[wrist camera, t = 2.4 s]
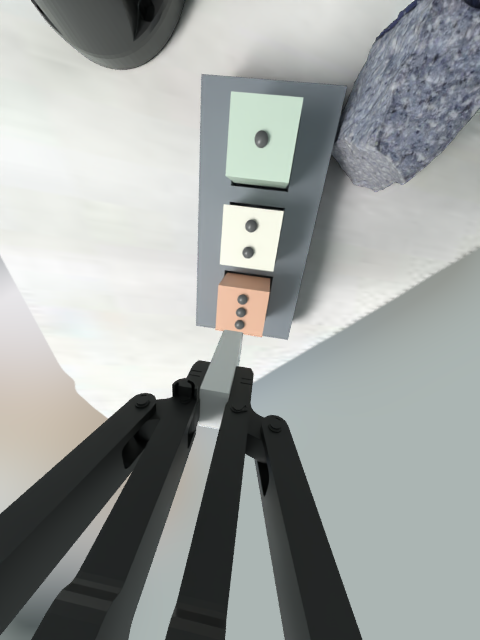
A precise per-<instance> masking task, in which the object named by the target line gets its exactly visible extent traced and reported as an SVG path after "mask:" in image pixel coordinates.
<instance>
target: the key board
mask: <svg viewBox="0 0 480 640" xmlns="http://www.w3.org/2000/svg"><path fill="white" fill-rule="evenodd" d="M346 89H347V86H343V85H331V84H318V83H306V82H293V81H281V80H268V79H256V78H243V77H231V76H218V75H206V74H202V77H201V123H200V170H199V216H198V263H197V309H196V326H203V327H209V328H216V313H217V298H218V285H219V283H220V282H221V281H222V279H223V278H224V276H225V275H226V274H227V272H229V273H236V274H243V275H250V276H258V277H265V278H270V294H269V300H268V305H267V311H266V317H265V323H264V328H263V334H262V336H267V337H273V338H280V339H286V340H288V337H289V332H290V328H291V324H292V319H293V315H294V311H295V307H296V302H297V298H298V294H299V290H300V285H301V281H302V277H303V273H304V268H305V264H306V260H307V255H308V251H309V247H310V243H311V238H312V234H313V230H314V226H315V221H316V217H317V213H318V208H319V204H320V200H321V196H322V191H323V187H324V183H325V179H326V174H327V170H328V166H329V161H330V157H331V153H332V149H333V144H334V140H335V136H336V132H337V127H338V123H339V119H340V114H341V110H342V106H343V102H344V97H345V93H346ZM231 91H233V92H245V93H257V94H268V95H280V96H292V97H304V98H303V104H302V109H301V115H300V121H299V127H298V132H297V138H296V144H295V150H294V155H293V161H292V167H291V173H290V179H289V183H288V185H287V187H286V188H277V187H268V186H259V185H250V184H241V183H234V182H233V181H232V180H230V179H229V178H228V177H226V176H225V175H226V160H227V145H228V129H229V114H230V99H231ZM224 204H226V205H234V206H243V207H251V208H260V209H268V210H277V211H284V213H283V219H282V225H281V230H280V236H279V242H278V248H277V253H276V259H275V265H274V271H273V272H272V271H265V270H258V269H250V268H243V267H235V266H228V265H221V264H220V252H221V237H222V221H223V206H224Z"/></svg>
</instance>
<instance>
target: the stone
mask: <svg viewBox="0 0 480 640" xmlns="http://www.w3.org/2000/svg"><path fill="white" fill-rule="evenodd" d="M479 108H480V0H415V1H414V2H412V3H411V4H410V5H408V6H407V7H406V8H405V9H404V10H403V11H401V12H400V13H399V15H398V18H397V19H396V20H395V21H393V23H391V24H390V25H389V26H388V27H387V28H386V29H384V31H383V32H381V33H380V35H379V36H378V37H377V38H376V42H374V44H373V46H372V48H371V50H370V52H369V55H368V58H367V61H366V63H365V65H364V66H363V68H362V70H361V71H360V73H359V75H358V78H357V80H356V81H355V82H354V87H353V90H352V92H351V94H350V97H349V100H348V102H347V104H346V106H345V109H344V111H343V113H342V114H341V116H340V119H339V123H338V127H337V132H336V136H335V140H334V144H333V149H332V153H331V155H332V156H333V157H334V158H335V159H336V160H337V162H338V163H339V164H340V166H341V168H342V169H343V170H344V171H345V173H346V175H347V176H348V177H349V178H350V179H351V181H352V183H353V184H354V185H358V186H365V187H367V188H370V189H372V190H373V191H374V192H377V191H379V190H381V189H382V190H383V189H384V188H386V187H388V186H390V185H391V184H392V183H393V182H397V183H400V184H401V185H402V184H405V183H406V182H408V181H409V180H410V179H412V178H413V177H414V176H415V175H417V174H418V173H419V172H420V171H421V170H422V169H424V168H425V167H426V166H427V165H428V164H429V163H430V162H431V161H432V160H433V159H434V158H435V157H436V156H438V155H439V154H440V153H441V152H442V151H443V150H444V149H445V148H446V147H447V146H448V145H449V144H450V142H451V141H452V140H453V139H454V138H455V136H456V135H457V133H458V132H459V131H460V130H461V129H462V128H463V127H464V126H465V124H466V123H467V122H468V121H469V120H470V119H471V118H472V116H473V115H474V114H475V113H476V112H477V111H478V110H479Z"/></svg>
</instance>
